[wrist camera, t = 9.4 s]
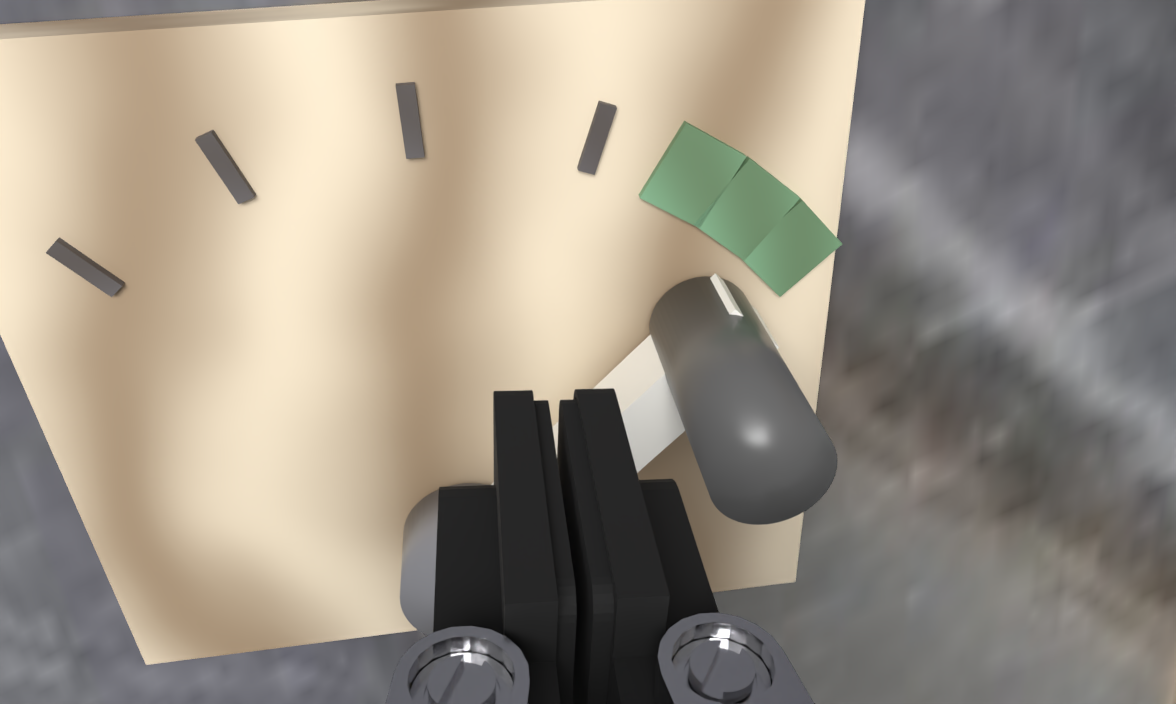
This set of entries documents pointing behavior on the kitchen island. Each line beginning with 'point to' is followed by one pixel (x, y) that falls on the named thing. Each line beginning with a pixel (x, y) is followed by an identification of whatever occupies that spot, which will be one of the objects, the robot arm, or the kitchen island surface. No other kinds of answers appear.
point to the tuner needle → (690, 421)
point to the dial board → (386, 267)
